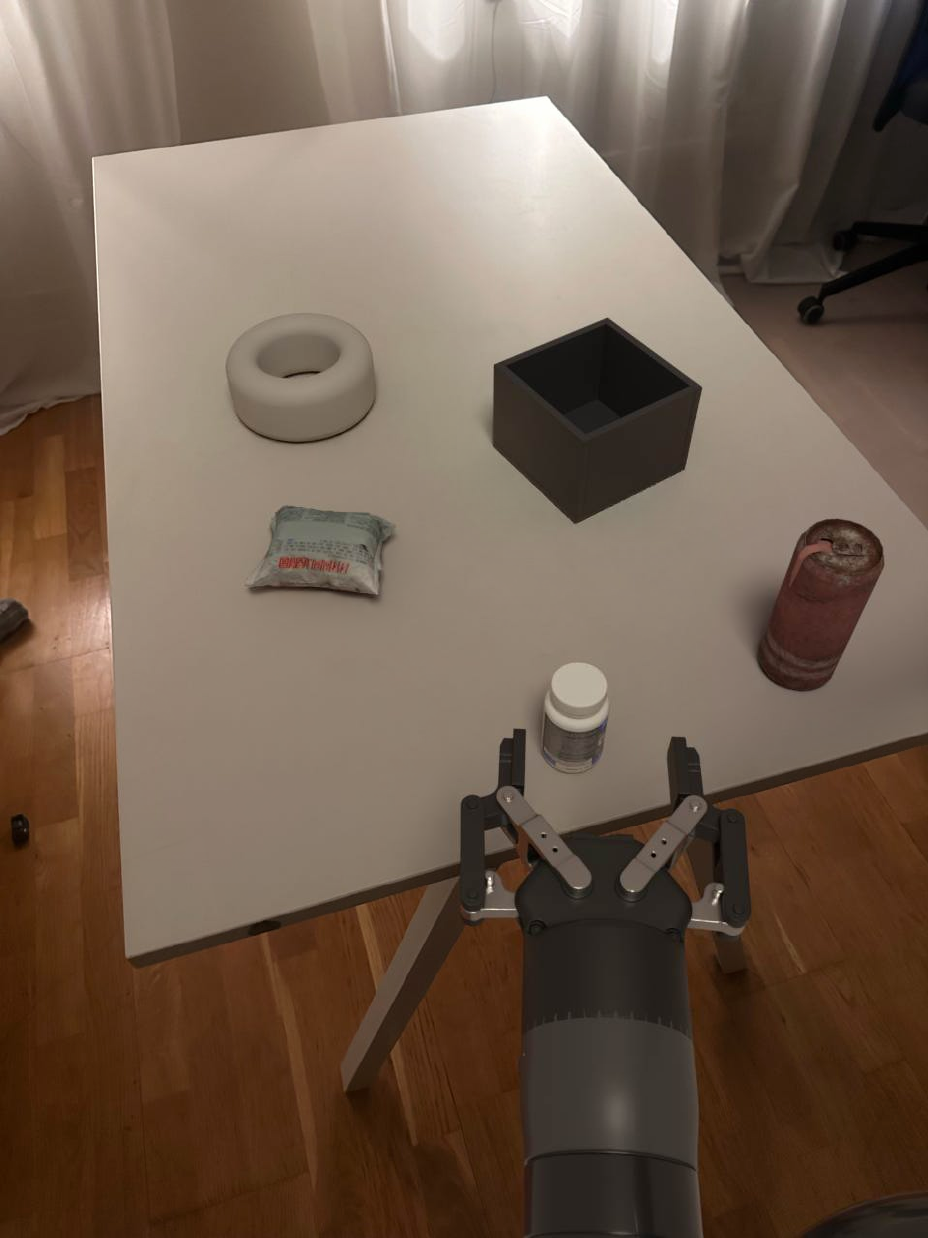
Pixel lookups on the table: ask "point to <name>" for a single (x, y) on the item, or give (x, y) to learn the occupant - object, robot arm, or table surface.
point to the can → (820, 602)
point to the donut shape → (304, 401)
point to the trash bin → (593, 417)
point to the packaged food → (323, 550)
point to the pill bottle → (575, 718)
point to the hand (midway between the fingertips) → (596, 740)
